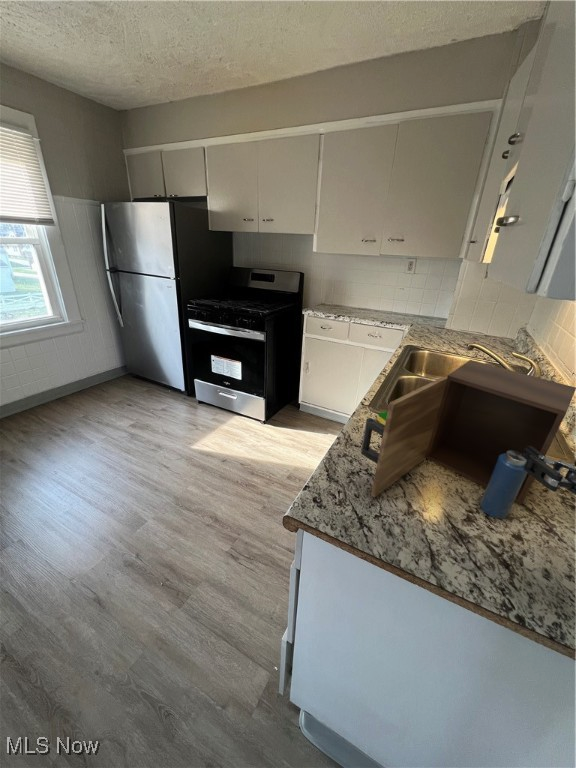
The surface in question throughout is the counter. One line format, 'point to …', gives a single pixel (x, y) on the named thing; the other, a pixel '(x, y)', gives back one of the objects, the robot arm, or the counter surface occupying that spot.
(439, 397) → the cupboard door
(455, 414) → the cupboard
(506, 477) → the water bottle
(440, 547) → the counter surface
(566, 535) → the counter surface
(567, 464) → the robot arm
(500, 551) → the counter surface
